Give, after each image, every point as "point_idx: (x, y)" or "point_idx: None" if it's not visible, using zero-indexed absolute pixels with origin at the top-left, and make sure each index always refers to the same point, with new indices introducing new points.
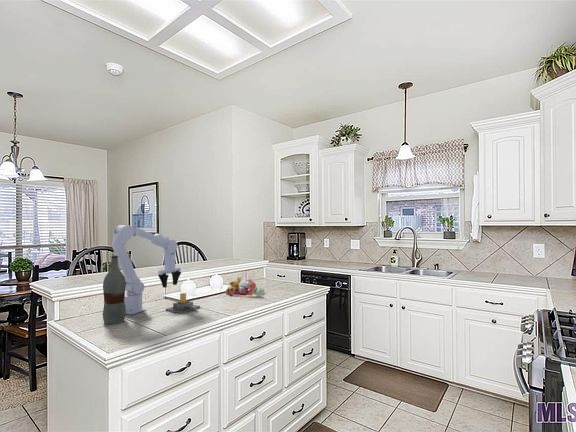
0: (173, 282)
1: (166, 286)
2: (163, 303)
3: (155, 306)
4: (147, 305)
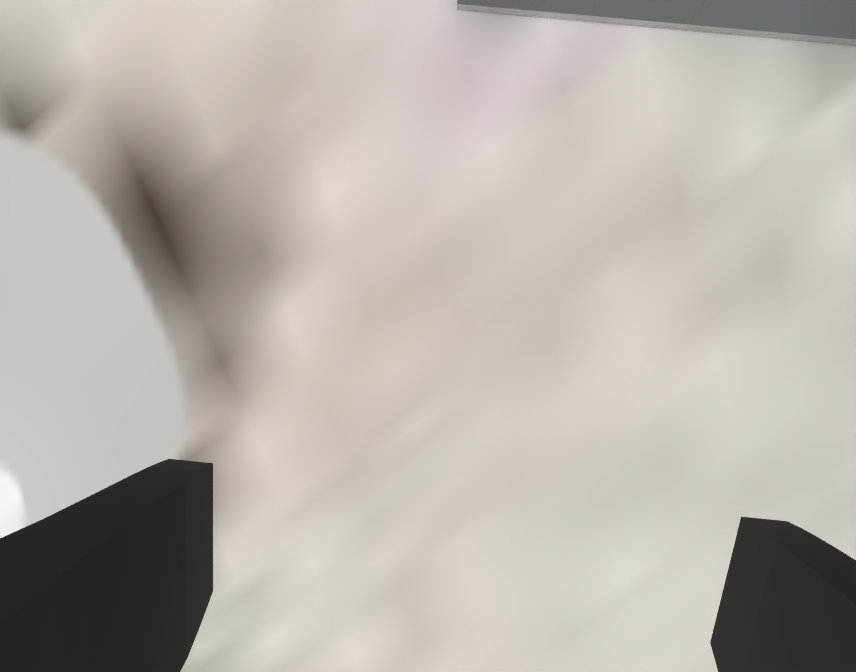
0: (178, 641)
1: (778, 528)
2: (455, 487)
3: (689, 483)
4: (662, 648)
